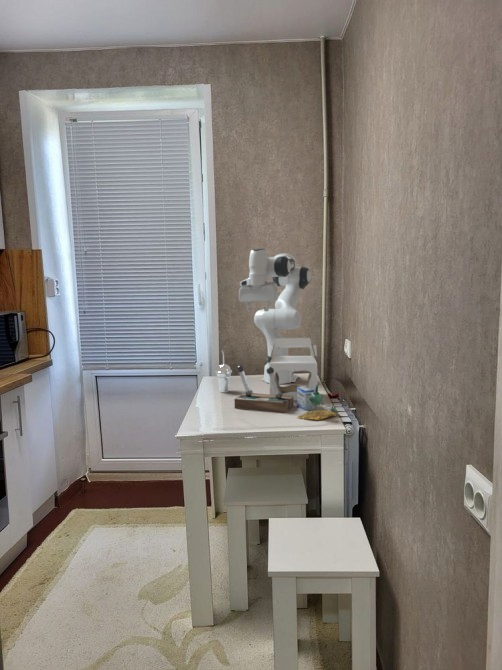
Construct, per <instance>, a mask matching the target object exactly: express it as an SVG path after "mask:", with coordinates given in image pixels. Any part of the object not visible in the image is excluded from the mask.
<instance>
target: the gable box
mask: <svg viewBox="0 0 502 670" xmlns="http://www.w3.org/2000/svg"><path fill="white" fill-rule="evenodd" d="M277 348H288V349H291V348H292V349H293V348H295V349H297V348H298V349H299V348H300V349H301V348H303V349H309V352H310V354H309V355H290V356H276V349H277ZM269 356H272V357H271V358H270V362H269V367H272V368H273V369H274V372H273V373H274V375H275V378H276V381H277V384H278V387H279V389H280V392H281V393H282V394H283V396H293V401H297V387H301V385H297V384H291V385H285V386H281V385H280V384H279V376H278V373H277V371H279V370H290V371H294V372H301V371H302V372H303V371H307V372H309V374H308V377H307V383H308V384H307V385H306V387H308V388H310V389H312V390H314V392H315V389H316V385H317V384H318V360H317V357H318V351H317V344H313V343H312V340H311V338H310V337H284V338H276V339H275V344H274V346H272V345H270V351H269ZM268 384H269V386H268V387H269V394H270V395H276V392H275V390H274V387H273V384H272V381H271V379H270V376H269V383H268Z"/></svg>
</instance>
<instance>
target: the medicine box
mask: <svg viewBox="0 0 502 670" xmlns="http://www.w3.org/2000/svg"><path fill="white" fill-rule="evenodd" d="M300 386H301V385H300ZM311 390H312V389H310V388H308V387H307V385H305V386H304V385H303V386H301V387H297V400H296V406H297V407H298V408H300V409H302V410H303V411H306V412H307V411H309V409H310V411H312V410H313V411H314V410H315V407H314V406H315V405H314V406H313V404H312V403H311V401H310V400H309V398H310V397H311ZM312 393H314V390H312ZM307 401H308V402H309V403H307ZM310 403H311V404H310ZM310 406H313V407H314V408H313V407H311V408H310Z"/></svg>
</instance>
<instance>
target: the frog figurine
mask: <svg viewBox="0 0 502 670" xmlns="http://www.w3.org/2000/svg"><path fill="white" fill-rule="evenodd" d="M309 400H310V401H311V403H312V404H313V406H314V407H313V406H310V408H311V407H313V408H314V409H315V407H318V410H314V409H313V410H310V409H309V410H308V411H306V412H304V414H301V415H298V416H297V419H302V420H307V421H308V420H315V421H320V420H324V419H326V418H329V417H330V416H333V417H336V416H335V415H338V416H340V413H339V412H338V410H337V409H336V407H334V405H333V404H332V406H330V405H326V406H325V407H322V406H320V405H324V403H323V396H322V394H321V393H320V392H319V384H318V383H317V385H316V389H315V392H314V393H312V390H311V397H310V398H309ZM307 403H309V402H308V401H307ZM311 403H310V404H311ZM328 407H329V408H330V409H329V410H327V409H326V408H328ZM320 408H321V409H320ZM338 416H337V417H338Z"/></svg>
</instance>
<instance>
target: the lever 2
mask: <svg viewBox="0 0 502 670" xmlns="http://www.w3.org/2000/svg"><path fill="white" fill-rule="evenodd" d="M273 372H274V369H273V368H272V367H268V368H267V373H268V374H269V376H270V379H271V381H272V384H273V387H274V390H275V392H276V398H277V399H280V398H281V397H282V396H283V394H282V393H281V392H280V389H279V387H278V384H277V381H276V378H275V375H274V373H273Z"/></svg>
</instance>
